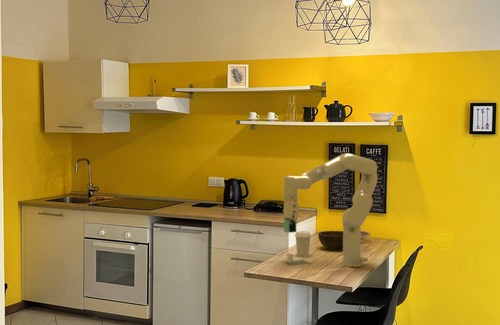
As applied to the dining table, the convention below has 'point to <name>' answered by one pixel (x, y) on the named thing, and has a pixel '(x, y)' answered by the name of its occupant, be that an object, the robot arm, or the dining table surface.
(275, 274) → the dining table surface
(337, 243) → the bowl
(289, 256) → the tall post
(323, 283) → the dining table surface
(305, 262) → the stand board
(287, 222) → the cap
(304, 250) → the coffee cup
